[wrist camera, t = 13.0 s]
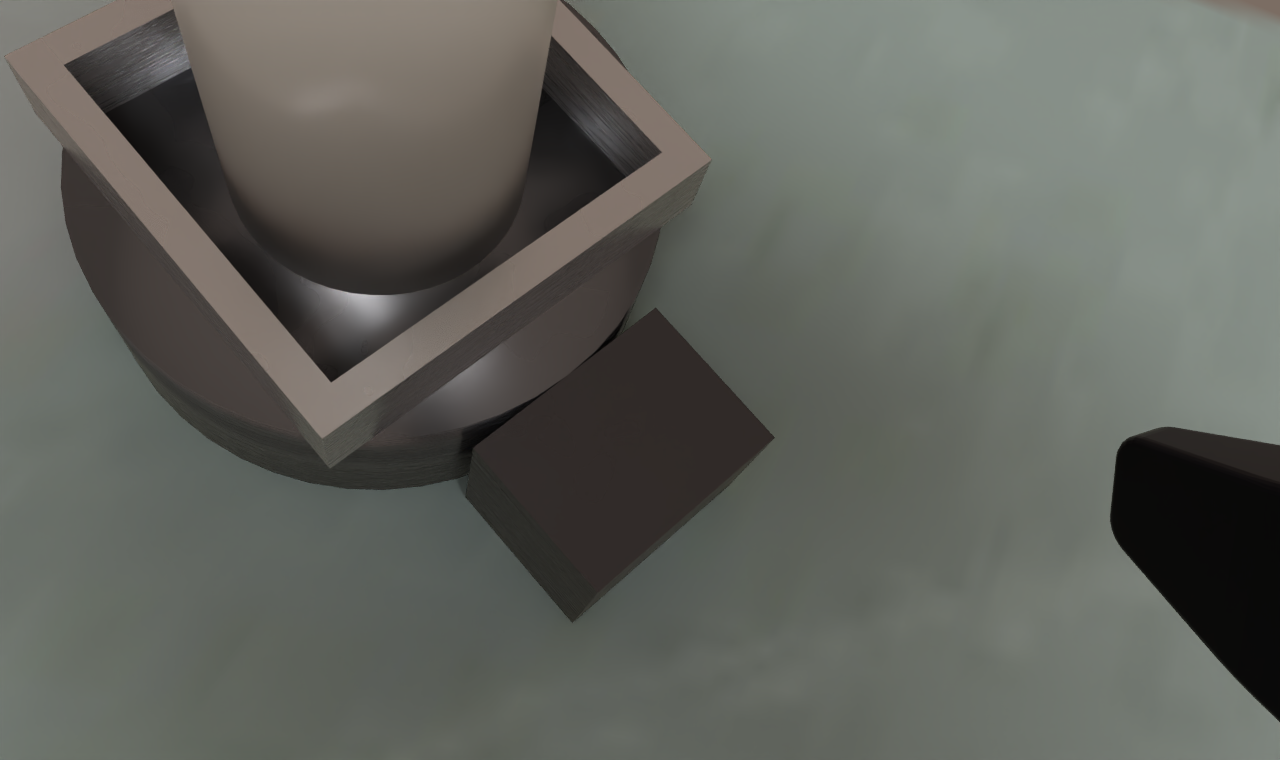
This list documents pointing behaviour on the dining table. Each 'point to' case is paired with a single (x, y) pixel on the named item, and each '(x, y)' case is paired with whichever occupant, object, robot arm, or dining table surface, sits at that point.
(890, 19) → the dining table surface
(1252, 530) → the robot arm
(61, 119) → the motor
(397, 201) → the beige teal capped bottle
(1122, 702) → the dining table surface
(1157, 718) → the dining table surface
